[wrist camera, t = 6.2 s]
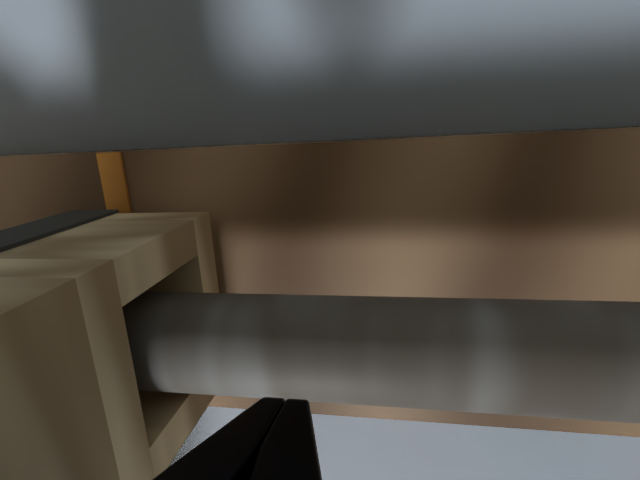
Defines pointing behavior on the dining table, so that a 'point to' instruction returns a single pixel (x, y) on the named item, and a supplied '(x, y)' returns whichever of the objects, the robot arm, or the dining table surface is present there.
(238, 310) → the pipe stand
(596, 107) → the dining table surface
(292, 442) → the robot arm
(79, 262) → the sleeve
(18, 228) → the gray slab
